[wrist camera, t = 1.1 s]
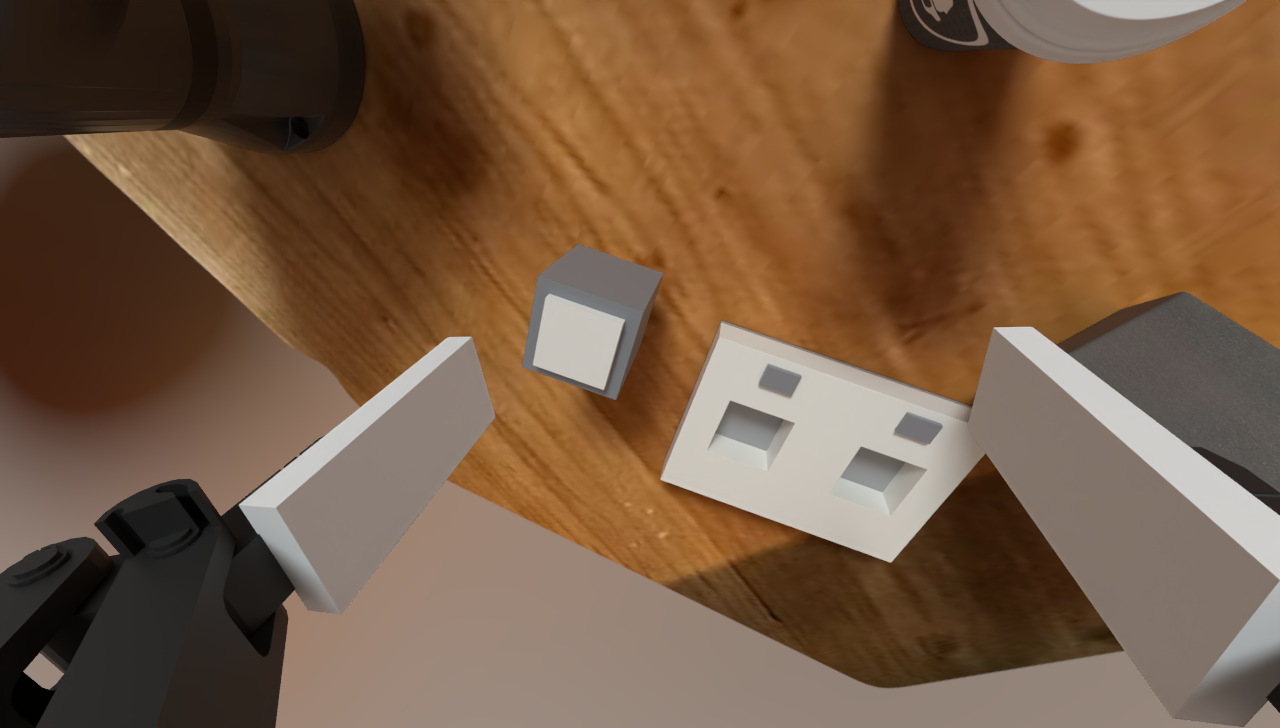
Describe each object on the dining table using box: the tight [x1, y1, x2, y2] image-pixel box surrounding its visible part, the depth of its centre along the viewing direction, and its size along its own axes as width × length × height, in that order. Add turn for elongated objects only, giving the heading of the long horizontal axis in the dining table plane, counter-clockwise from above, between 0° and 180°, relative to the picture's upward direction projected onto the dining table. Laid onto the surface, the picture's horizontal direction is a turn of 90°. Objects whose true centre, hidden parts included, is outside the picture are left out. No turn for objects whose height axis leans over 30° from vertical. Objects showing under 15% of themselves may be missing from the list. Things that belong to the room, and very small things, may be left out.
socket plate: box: [660, 320, 985, 563], centre depth 37 cm, size 20×14×3 cm
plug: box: [522, 244, 663, 400], centre depth 31 cm, size 6×6×11 cm
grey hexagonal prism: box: [1057, 292, 1280, 492], centre depth 25 cm, size 17×8×21 cm
